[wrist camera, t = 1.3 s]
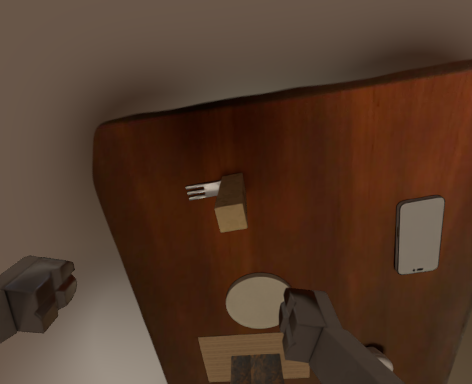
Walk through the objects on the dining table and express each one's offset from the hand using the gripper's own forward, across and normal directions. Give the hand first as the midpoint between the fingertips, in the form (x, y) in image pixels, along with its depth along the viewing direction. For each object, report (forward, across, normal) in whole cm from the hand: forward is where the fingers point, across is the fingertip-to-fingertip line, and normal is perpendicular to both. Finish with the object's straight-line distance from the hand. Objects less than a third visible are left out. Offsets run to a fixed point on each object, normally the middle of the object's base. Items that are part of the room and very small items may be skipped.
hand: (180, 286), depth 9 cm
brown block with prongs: (+30, +1, +8) cm, 31 cm away
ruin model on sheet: (+30, -13, +49) cm, 59 cm away
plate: (+30, -11, +31) cm, 44 cm away
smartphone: (+30, -36, +12) cm, 48 cm away
